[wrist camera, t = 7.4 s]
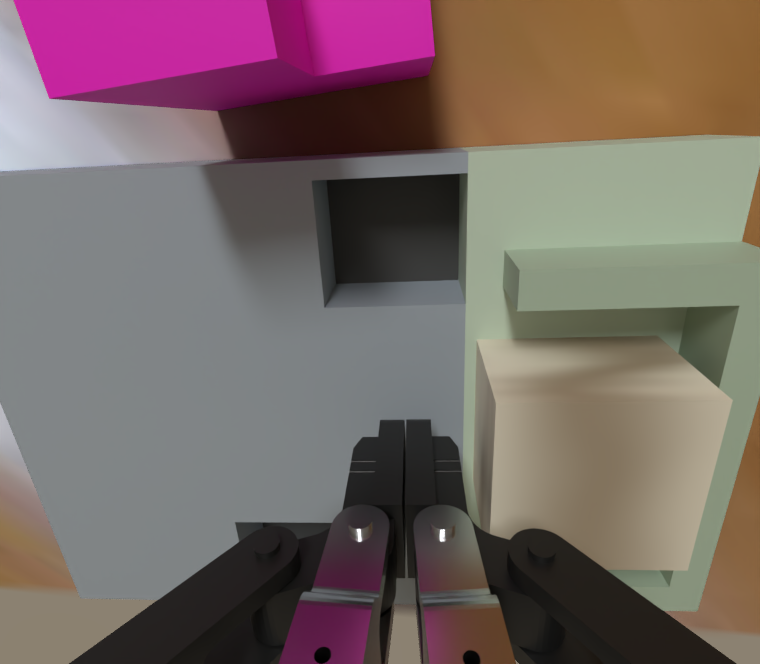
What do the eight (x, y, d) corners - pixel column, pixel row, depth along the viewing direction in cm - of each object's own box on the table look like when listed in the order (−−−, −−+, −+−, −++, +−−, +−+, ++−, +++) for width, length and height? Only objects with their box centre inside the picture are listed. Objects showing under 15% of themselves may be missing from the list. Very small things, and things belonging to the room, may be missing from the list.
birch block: (657, 335, 14) (732, 400, 10) (630, 478, 16) (687, 570, 12) (476, 339, 14) (496, 403, 11) (473, 478, 16) (488, 567, 13)
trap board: (707, 135, 14) (834, 138, 10) (626, 553, 20) (681, 664, 16) (-16, 172, 16) (-172, 189, 11) (115, 548, 22) (45, 647, 18)
